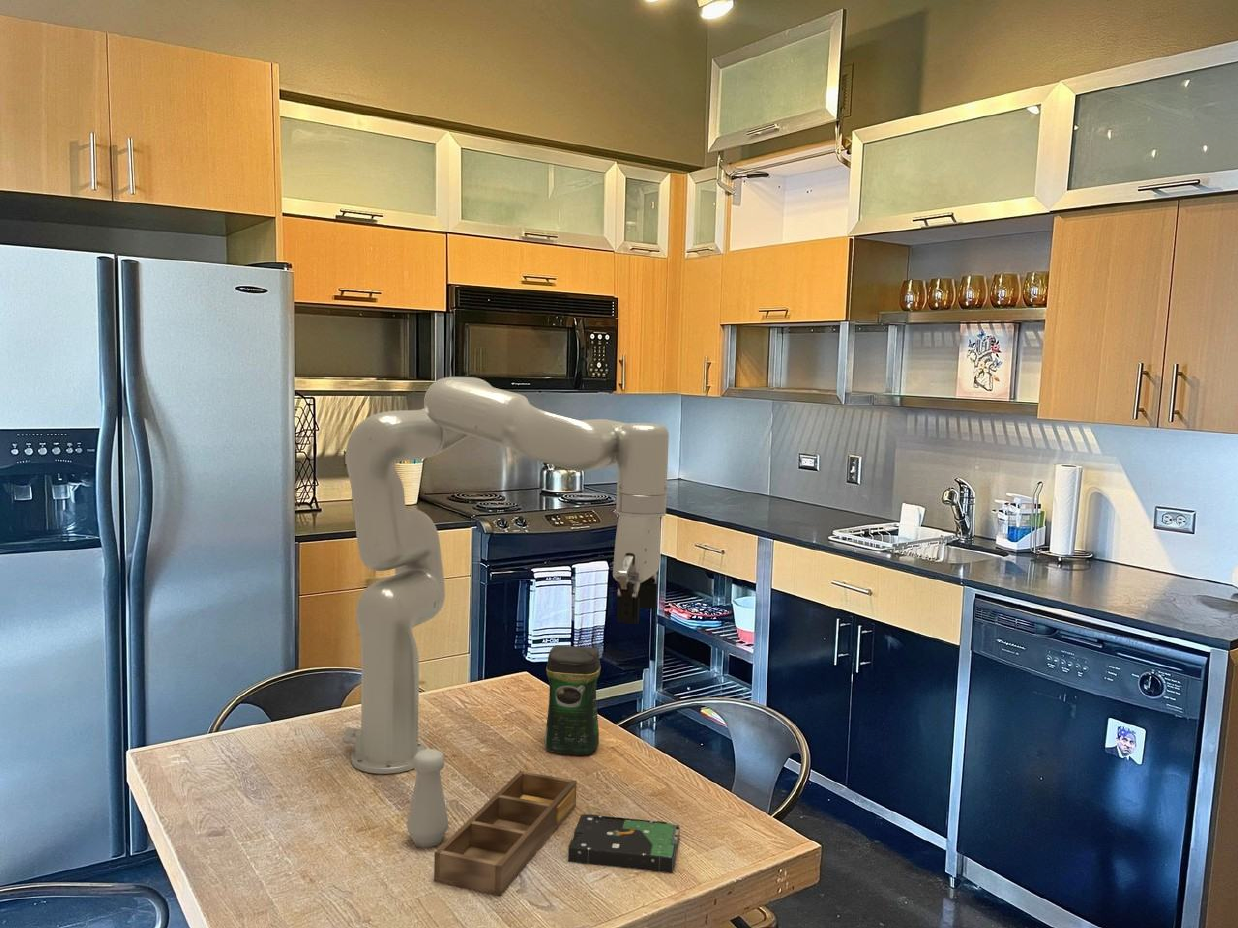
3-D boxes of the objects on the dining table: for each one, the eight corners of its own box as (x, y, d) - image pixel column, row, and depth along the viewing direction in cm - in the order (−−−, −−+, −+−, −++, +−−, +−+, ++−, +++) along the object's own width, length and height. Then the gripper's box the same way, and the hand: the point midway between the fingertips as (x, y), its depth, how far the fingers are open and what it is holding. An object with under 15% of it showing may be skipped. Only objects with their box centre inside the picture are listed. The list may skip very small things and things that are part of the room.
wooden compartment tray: (434, 881, 122) (434, 852, 121) (519, 794, 147) (520, 770, 147) (502, 896, 119) (503, 866, 118) (577, 805, 144) (578, 781, 144)
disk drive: (567, 866, 128) (674, 876, 126) (567, 847, 127) (675, 856, 126) (580, 830, 138) (679, 838, 136) (580, 812, 138) (680, 820, 136)
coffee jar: (601, 741, 170) (604, 643, 168) (593, 758, 162) (597, 655, 161) (550, 736, 172) (553, 639, 170) (540, 753, 164) (542, 651, 162)
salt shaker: (438, 853, 129) (439, 763, 128) (399, 847, 130) (401, 758, 129) (454, 833, 135) (455, 746, 133) (417, 828, 136) (418, 742, 134)
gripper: (633, 496, 150) (630, 600, 151) (599, 509, 133) (595, 626, 135) (679, 499, 147) (674, 605, 149) (649, 513, 131) (645, 632, 133)
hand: (637, 615), depth 142 cm, fingers open, 9 cm apart
